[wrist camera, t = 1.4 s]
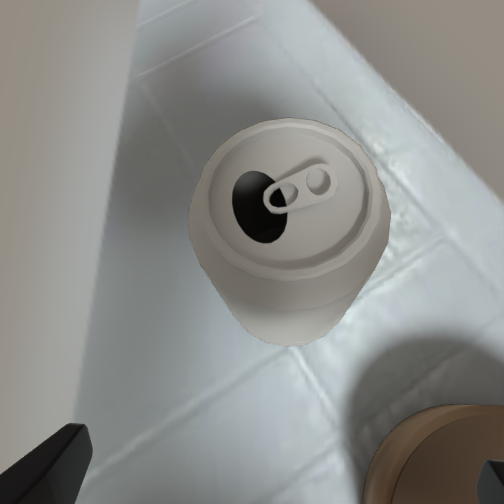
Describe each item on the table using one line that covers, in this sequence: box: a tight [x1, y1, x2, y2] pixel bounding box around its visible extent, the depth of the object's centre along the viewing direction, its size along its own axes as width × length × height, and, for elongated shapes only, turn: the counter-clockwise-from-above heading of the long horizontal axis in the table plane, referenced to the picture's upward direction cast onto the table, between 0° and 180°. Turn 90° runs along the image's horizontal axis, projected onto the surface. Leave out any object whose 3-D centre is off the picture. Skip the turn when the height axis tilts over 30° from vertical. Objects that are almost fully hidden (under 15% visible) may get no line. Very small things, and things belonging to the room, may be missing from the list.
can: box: [189, 118, 391, 347], centre depth 18 cm, size 8×8×12 cm
